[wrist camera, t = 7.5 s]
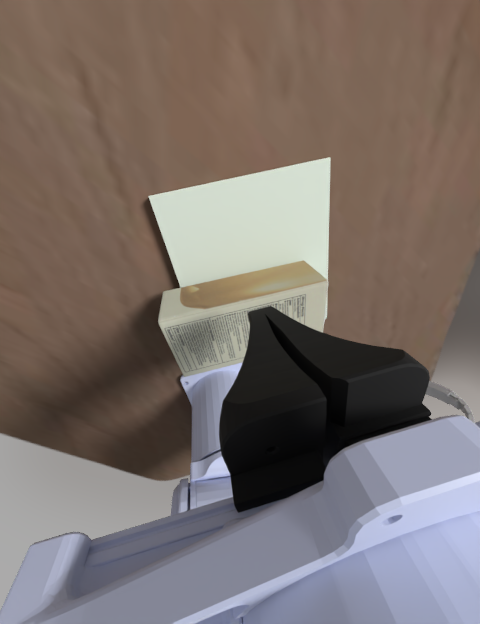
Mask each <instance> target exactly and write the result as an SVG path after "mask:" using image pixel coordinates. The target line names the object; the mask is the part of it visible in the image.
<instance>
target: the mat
mask: <svg viewBox="0 0 480 624" xmlns="http://www.w3.org/2000/svg"><path fill="white" fill-rule="evenodd" d="M148 197H149V199H150V202H151V205H152V208H153V211H154V214H155V216H156V219H157V222H158V225H159V228H160V231H161V233H162V236H163V239H164V242H165V245H166V248H167V251H168V253H169V256H170V259H171V262H172V265H173V268H174V270H175V273H176V276H177V279H178V282H179V285H180V287H186V286H191V285H195V284H200V283H204V282H209V281H213V280H217V279H222V278H226V277H231V276H235V275H240V274H244V273H249V272H253V271H258V270H262V269H267V268H271V267H276V266H280V265H285V264H289V263H294V262H298V261H303V260H304V261H306V262H307V263H308V264H309V265H310V266H311V267H313V268H314V269H315V270H316V271H317V272H319V273H320V274H321V275H322V276H323V277H324V278H326V279H327V281H328V242H329V198H330V157H329V158H325V159H320V160H315V161H310V162H306V163H301V164H296V165H292V166H287V167H282V168H278V169H273V170H268V171H264V172H259V173H254V174H250V175H245V176H240V177H236V178H231V179H226V180H222V181H217V182H212V183H208V184H203V185H198V186H194V187H189V188H184V189H180V190H175V191H170V192H166V193H161V194H156V195H152V196H148ZM325 318H327V300H326V316H325Z"/></svg>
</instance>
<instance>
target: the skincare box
mask: <svg viewBox="0 0 480 624" xmlns="http://www.w3.org/2000/svg"><path fill="white" fill-rule="evenodd" d="M327 290H328V281H327V279H326V278H324V277H323V276H322V275H321V274H320V273H319V272H317V271H316V270H315V269H314V268H313V267H311V266H310V265H309V264H308V263H307V262H306V261H304V260H303V261H298V262H294V263H289V264H285V265H280V266H276V267H271V268H267V269H262V270H258V271H253V272H249V273H244V274H240V275H235V276H231V277H226V278H222V279H217V280H213V281H209V282H204V283H200V284H195V285H191V286H186V287H181V288H177V289H173V290H168V291H164V292H163V296H162V301H161V307H160V313H159V318H158V323H159V326H160V328H161V330H162V332H163V334H164V336H165V338H166V340H167V343H168V345H169V347H170V349H171V351H172V353H173V355H174V357H175V359H176V361H177V363H178V365H179V368H180V369H181V371H182V373H183V375H184V377H187V376H191V375H195V374H199V373H203V372H207V371H211V370H214V369H218V368H222V367H226V366H230V365H234V364H238V363H242V362H243V360H244V357H245V354H246V350H247V346H248V340H249V332H250V323H249V318H248V313H249V311H253V310H257V309H261V308H265V307H269V306H272V307H274V308H275V309H277V310H279V311H280V312H282V313H284V314H285V315H287V316H289V317H290V318H292V319H294V320H296V321H298V322H300V323H301V324H304V325H306V326H308V327H310V328H312V329H315V330H317V331H320V332H322V333H323V327H324V321H325V316H326V300H327Z"/></svg>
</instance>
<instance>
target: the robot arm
mask: <svg viewBox="0 0 480 624" xmlns="http://www.w3.org/2000/svg"><path fill="white" fill-rule="evenodd" d="M248 318H249V323H250V332H249V340H248V346H247V350H246V354H245V357H244V360H243V362H242V363H238V364H234V365H230V366H226V367H222V368H218V369H214V370H211V371H207V372H203V373H199V374H195V375H191V376H187V377H184V375H182V376H181V378H180V381H181V383H182V386H183V388H184V390H185V392H186V394H187V396H188V399H189V401H190V403H191V405H192V463H191V469H190V483H188V478H187V479H182V480H181V481H180V484H179V485H178V486H177V487H176V488H175V490H174V492H173V498H172V509H171V516H168V517H165V518H162V519H159V520H155V521H152V522H149V523H145V524H142V525H139V526H136V527H132V528H129V529H126V530H123V531H119V532H116V533H113V534H109V535H106V536H103V537H100V538H96V539H93V540H91V539H90V538H89V537H88V536H87V535H85V534H84V533H80V532H71V533H66V534H63V535H59V536H56V537H53V538H49V539H46V540H43V541H39V542H36V543H34V544H32V545H31V546H30V547H29V549H28V551H27V554H26V556H25V558H24V560H23V562H22V565H21V567H20V569H19V571H18V574H17V576H16V578H15V580H14V582H13V584H12V586H11V589H10V591H9V593H8V595H7V597H6V600H5V602H4V604H3V606H2V609H1V611H0V624H480V421H479V422H476V423H473V422H472V421H471V420H469V419H468V418H466V417H464V416H460V415H451V416H444V417H439V418H436V419H431V418H429V416H430V415H431V412H430V410H429V409H427V408H426V407H425V406H424V405H423V404H422V401H423V398H424V396H425V393H426V390H427V388H428V384H429V378H430V377H429V372H428V370H427V369H426V368H425V367H424V366H423V365H422V364H420V363H419V362H418V361H416V360H415V359H414V358H413V357H411V356H410V355H409V354H408V353H406V352H405V351H403V350H400V349H393V348H385V347H377V346H371V345H366V344H361V343H356V342H352V341H348V340H344V339H341V338H337V337H334V336H331V335H328V334H325V333H322V332H320V331H317V330H315V329H312V328H310V327H308V326H306V325H304V324H301V323H300V322H298V321H296V320H294V319H292V318H290V317H289V316H287V315H285V314H284V313H282V312H280V311H279V310H277V309H275V308H274V307H272V306H269V307H265V308H261V309H257V310H253V311H249V313H248ZM186 382H187V383H186Z"/></svg>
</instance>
